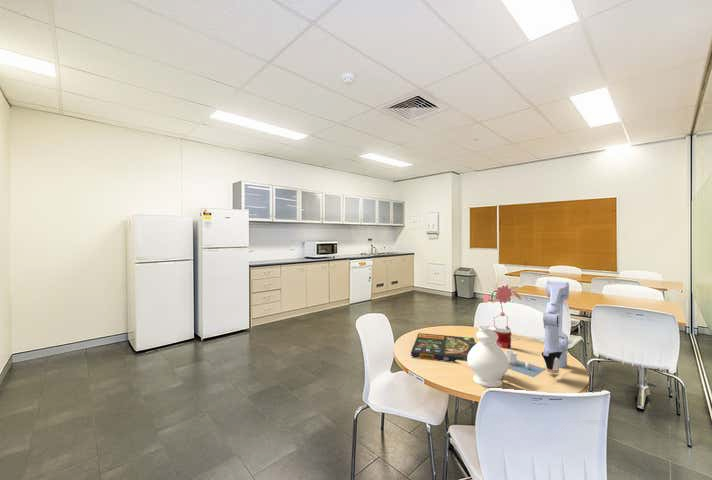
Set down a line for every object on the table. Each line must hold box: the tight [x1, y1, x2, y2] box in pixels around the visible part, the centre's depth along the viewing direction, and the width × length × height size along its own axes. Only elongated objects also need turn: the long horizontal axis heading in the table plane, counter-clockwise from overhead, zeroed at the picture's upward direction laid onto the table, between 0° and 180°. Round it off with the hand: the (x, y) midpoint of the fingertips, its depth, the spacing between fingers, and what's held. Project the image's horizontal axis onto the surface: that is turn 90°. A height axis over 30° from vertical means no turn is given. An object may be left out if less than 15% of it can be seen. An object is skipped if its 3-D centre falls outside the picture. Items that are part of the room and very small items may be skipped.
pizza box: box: [410, 332, 476, 363], centre depth 180 cm, size 35×35×4 cm
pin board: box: [508, 359, 546, 378], centre depth 152 cm, size 14×19×4 cm
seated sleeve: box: [504, 349, 518, 366], centre depth 156 cm, size 5×5×6 cm
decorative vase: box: [466, 324, 509, 388], centre depth 140 cm, size 18×18×25 cm
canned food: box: [495, 328, 512, 350], centre depth 181 cm, size 8×8×11 cm
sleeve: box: [544, 358, 560, 374], centre depth 142 cm, size 5×5×6 cm
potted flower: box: [482, 284, 522, 340], centre depth 201 cm, size 15×26×35 cm, turn 98°
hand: (552, 367), depth 142 cm, fingers closed on sleeve, 5 cm apart
